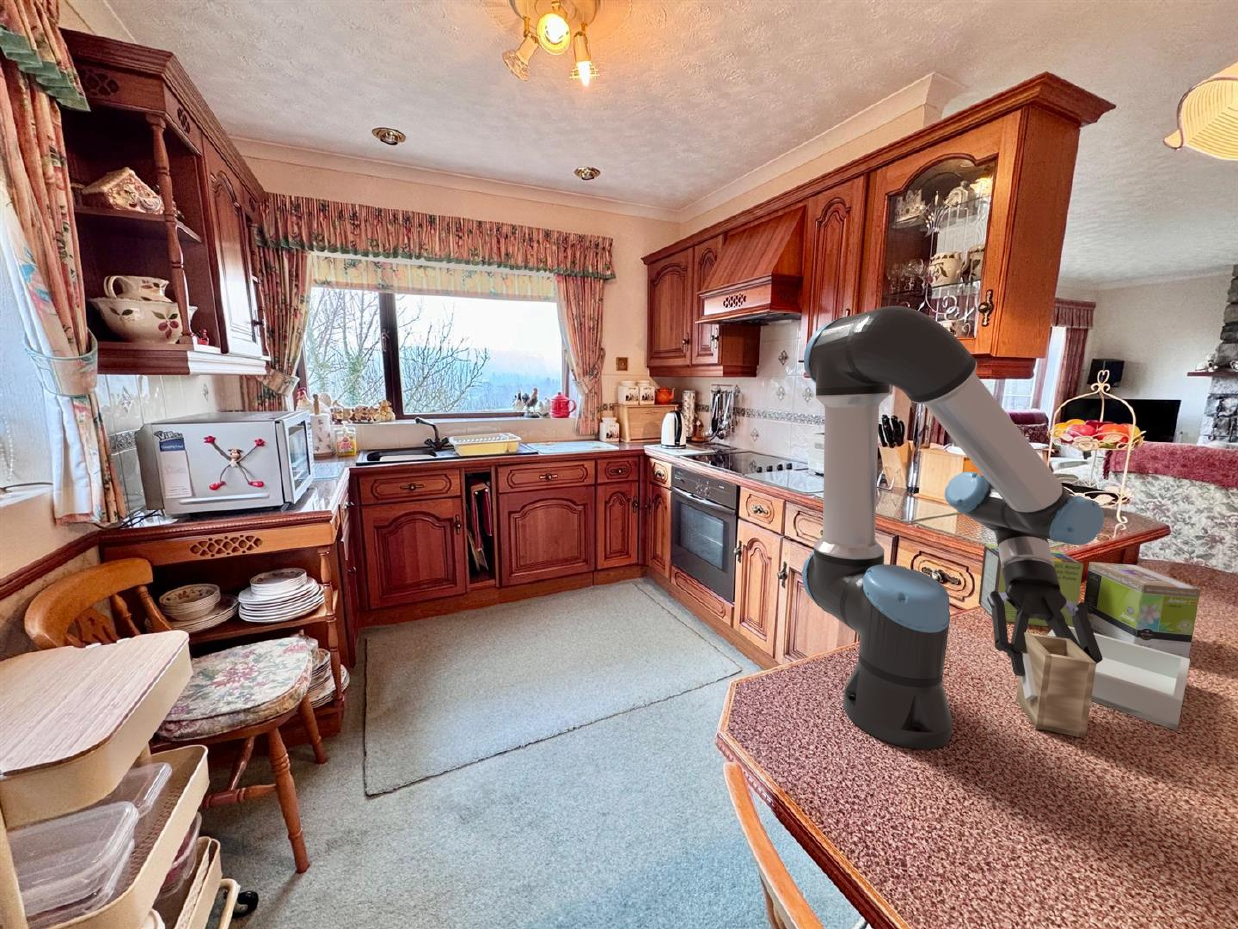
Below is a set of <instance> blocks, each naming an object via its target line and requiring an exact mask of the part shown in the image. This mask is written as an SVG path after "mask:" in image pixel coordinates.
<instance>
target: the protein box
mask: <svg viewBox="0 0 1238 929" xmlns="http://www.w3.org/2000/svg"><path fill="white" fill-rule="evenodd" d="M1050 550H1051V554H1052V557H1053V561H1054V568H1055V569H1056V573H1057V577H1058V580H1059V584H1060V591H1061V593H1062V594H1063V595H1064V597H1065V598H1066V600H1068V601H1071V602H1074V603H1077V604H1079V600H1080V598H1079V597H1080V591H1081V584H1082V578H1083V577H1082V576H1083V570H1084V562H1081V561H1079V560H1078V559H1076V558H1073V557H1071V556H1069V555H1067V554H1066V553H1064V552H1062V551H1061V550H1058V549H1050ZM982 556H983V557H982V566H981V575H980V586H979V594H978V604H979V606H981V608H982V609H983V610H984V611H985V612H986V613H987V614H988V615H989V616H990V617H991V618H992V619H993V617H992V608H991V606H990V604H989V602H988V600H987V597H988V596H989V595H990V593H991V592H992V591H996V592H998V593H1003V592H1005V591H1006V587H1005V582H1004V577H1003V572H1002V570H1003V567H1002V566H1001V560H1000V555H999V550H998V545H996V544H995V545H993V544H984V548H983V555H982ZM1004 606H1005V614H1006V623H1007V622H1008V623H1015V617H1016V612H1017V610H1016V609H1015V608H1014V607H1013V606H1012V605H1011V604H1010V603H1009V602H1008V601H1007V600H1006V603H1005V604H1004ZM1061 612H1062V614H1063V616H1064V617H1065V622H1066V624H1067V625H1068V626H1070V627H1074V626H1073V622H1072V616H1070V615H1069V614H1068V610H1067V609H1066V608H1065V607H1063V608H1062V609H1061ZM1028 625H1032V626H1041V627H1047V626H1048V625H1047V623H1046V621H1045V620H1041V619H1038V618H1029V621H1028Z"/></svg>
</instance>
